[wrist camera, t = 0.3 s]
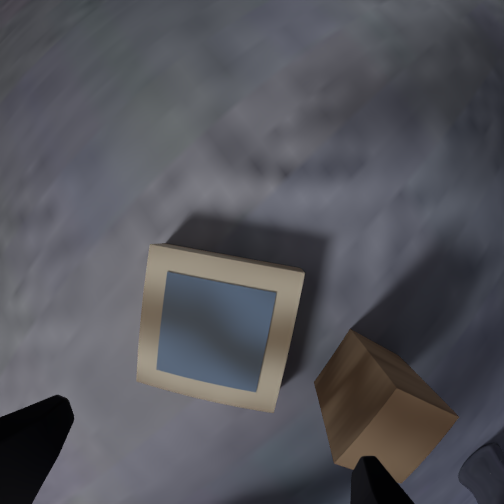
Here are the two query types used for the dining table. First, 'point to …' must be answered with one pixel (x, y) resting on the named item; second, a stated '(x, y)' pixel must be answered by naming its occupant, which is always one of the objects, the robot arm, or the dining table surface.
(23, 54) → the dining table surface
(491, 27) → the dining table surface
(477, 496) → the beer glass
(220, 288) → the birch plinth
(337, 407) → the walnut column
